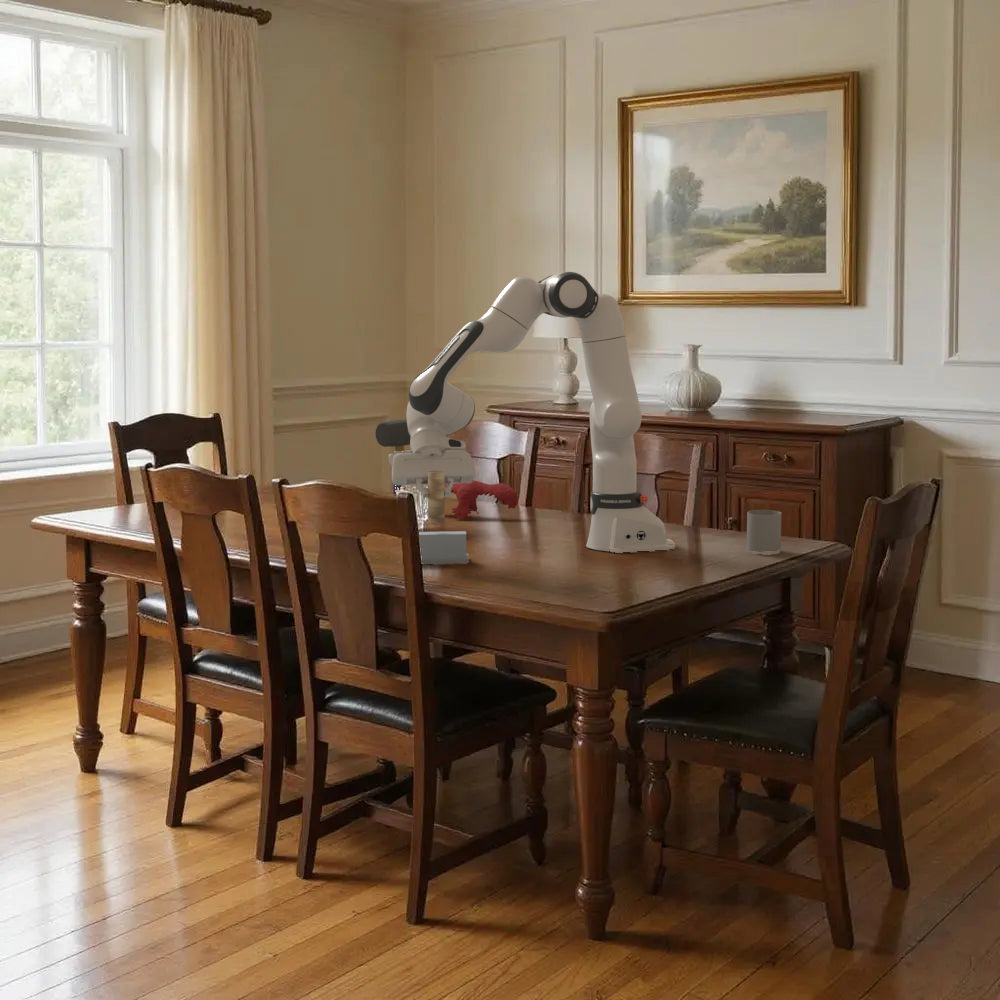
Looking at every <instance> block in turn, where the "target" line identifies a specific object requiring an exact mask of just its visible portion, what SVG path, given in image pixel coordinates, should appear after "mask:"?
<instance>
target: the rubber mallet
mask: <svg viewBox="0 0 1000 1000" xmlns="http://www.w3.org/2000/svg"><path fill="white" fill-rule="evenodd" d="M374 433H375V438H376V441H377V443H378V444H379V445H380V446H382V447H385V448H387V447H389V448H391V447H392V448H393V447H394V452H395V451H405V446H408V445H409V446H410V438H411V436H410V434H409V432H408V427H407V418H399V419H397V418H396V419H392V420H386V421H381V422H379V423H378V425H377V426H376V429H375V432H374ZM401 486H402V485H396V486H395V484H394V483H393V487H392V488H393V495H394V494H396V492H395V490H397V487H398V488H399V490H400V487H401ZM395 487H396V489H395Z"/></svg>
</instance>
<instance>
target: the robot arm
mask: <svg viewBox="0 0 1000 1000" xmlns="http://www.w3.org/2000/svg"><path fill="white" fill-rule="evenodd" d="M543 314H546V315H548V316H552V317H558V318H566V319H567V318H573V319H574V320H575V321H576V322H577V324H578V328H579V329H580V336H581V337H580V338H581V345H582V351H583V358H584V364H585V372H586V376H587V379H588V383H589V387H590V388H589V389H590V393H591V396H592V403H591V405H590V407H589V429H590V442H591V443H590V445H591V454H592V456H591V457H592V491H591V492H590V500H589V501H590V512H591V518H590V519H591V520H590V528H589V532H588V533H589V534H588V537H587V542H586V545H585V546H586V548H588V549H592V550H595V551H602V552H603V551H604V552H609V551H610V552H611V553H614V552H615V554H624V553H623V552H630V553H638V552H637V551H649V552H656V551H655V550H667V551H669V550H668V549H673V548H675V549H676V543H675V542H674V541H673V540H672V539H670V538H668V537H667V530H666V526H665V524H664V522H663V521H662V519H660V518H659V517H658V516H656V514H654V513H653V512H652V511H650V510H649V509H648V508H647V507H646V506H644V505H645V504H647V503H648V502H649V497H648V496H647V495H646V494H642V493H640V492H639V491H637V478H638V477H637V465H638V464H637V462H638V461H637V456H636V449H635V439H634V435H635V434H636V433H637V432H638V430H639V429H640V427H641V423H642V419H643V417H642V411H641V407H640V400H639V397H638V392H637V389H636V388H637V387H636V384H635V380H634V376H633V372H632V368H631V361H630V355H629V349H628V342H627V335H626V328H625V324H624V320H623V315H622V312H621V308H620V306H619V304H618V301H617V299H616V298H615V297H614V296H612V295H609V294H605V293H597V292H596V290H595V289H594V288H593V286H592V285H591V283H590V282H589V281H588V279H587V278H586V277H584V276H583V275H582V274H580V273H577V272H574V271H559V272H556V273H554V274H552V275H548V276H547V277H544V278H543V279H541V280H539V281H538V282H537V281H536V280H534V279H532V278H530V277H528V276H518V277H517V276H516V277H514V278H513V279H512V280H511V281H510V282H508V284H507V285H506V286H505V287H504V289H502V291H501V292H500V293H499V295H498V296H497V297H496V298H495V299H494V301H493V303H492V304H491V306H490V307H489V309H488V310H487V311H486V313H484V314H483V315H482V316H481V317H480V318H479V319H477V320H473V321H469V322H468V323H466V324H465V325H464V326H463V327H462V328H461V329H460V330H459V331H458V332H457V333H456V334H455V335H453V337H452V339H451V340H450V341H449V342H448V343H447V344H446V346H445V347H444V348H443V349H441V351H440V353H438V355H437V356H436V357H435V358H434V359H433V361H431V363H430V364H429V365H428V366H427V367H426V368H425V369H424V370H423V371H421V372H420V373H419V374H418V375H416V377H415V378H414V379H413V380H412V382H411V383H410V385H409V389H408V400H409V401H408V402H407V406H406V419H407V427H408V432H409V434H410V436H411V438H410V445H409V446H410V450H404V451H395V450H394V451H393V452H391V453H390V454H389V455H388V456H387V459H388V464H389V465H390V466H391V483H393V485H394V484H395V485H407V486H415V488H416V489H417V490H418V492H420V493H421V498H422V499H423V498H427V499H428V496H429V492H428V487H425V486H424V485H428V472H430V471H443V472H444V479H445V484H447V486H448V487H445V498H451V496H452V493H451V488H452V487H453V484H455V483H471V482H472V481H475V480H474V479H475V477H476V470H475V465H474V462H473V458H472V456H471V454H470V453H469V452H468V451H466V450H467V449H466V448H467V447H466V446H467V445H466V442H465V441H463V440H459V439H455V438H451V437H448V436H450V435H453V434H455V433H458V432H459V431H461V430H463V429H465V428H466V427H468V426H469V425H470V424H471V422H472V421H473V419H474V415H475V412H476V404H475V401H474V399H473V398H472V397H471V396H470V395H468V394H467V393H466V392H464V391H462V389H460V388H457V387H456V386H454V385H453V384H451V383H450V382H449V379H450V378H451V376H452V375H453V374H454V373H455V371H456V370H458V368H459V367H460V366H461V364H462V363H464V361H465V360H467V358H468V357H469V356H470V355H471V354H473V353H475V352H481V351H482V352H483V351H485V352H489V353H490V352H491V353H500V354H501V353H508V352H511V351H513V350H515V349H516V348H517V347H518V346H519V345H520V344H521V343H522V341H523V340H524V339H525V338H526V337H525V336H526V335H527V334H528V333H529V330H530V329H531V328H532V326H533V325H534V322H535V321H536V320H537V319H538V318H539V317H540V316H541V315H543ZM673 550H674V549H673Z"/></svg>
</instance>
